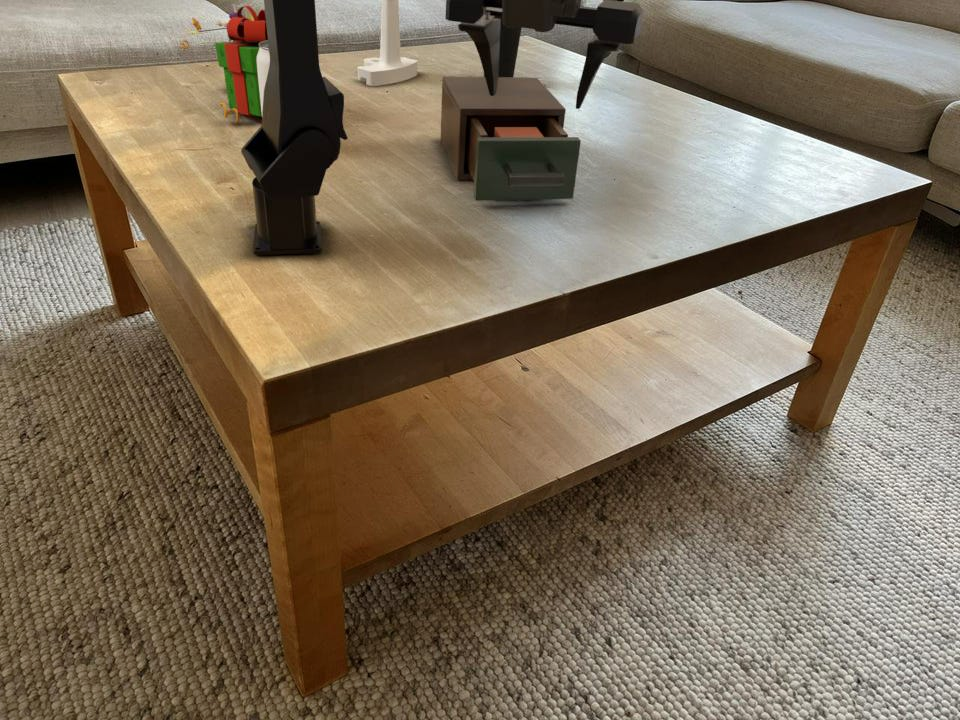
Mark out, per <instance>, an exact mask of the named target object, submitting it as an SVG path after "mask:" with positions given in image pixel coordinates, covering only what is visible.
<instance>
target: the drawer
mask: <svg viewBox="0 0 960 720" xmlns="http://www.w3.org/2000/svg"><path fill="white" fill-rule="evenodd" d="M495 127H537V129H538V130H539V131H540V133H541V134H542V135H543V136H544V137H494V131H495ZM581 142H582V141H581V139H580V138H579V137H578V136H569V133H567V131H566V130H565V129H564V127H563V128H562V127H561V126H560V125H559V124H558V122H557V121H556V120H555V119H554V118H553V117H552V116H522V115H467V123H466V142H465V164H466V166H467V168H468V170H469V173H470V175H471V177H472V179H473V180H472V181H473V182H474V183H473V198H474V201H525V200H526V201H527V200H530V201H531V200H573V199H574V192H575V187H576V179H577V171H578V165H579V164H578V163H579V156H580V149H581V144H582V143H581Z"/></svg>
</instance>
